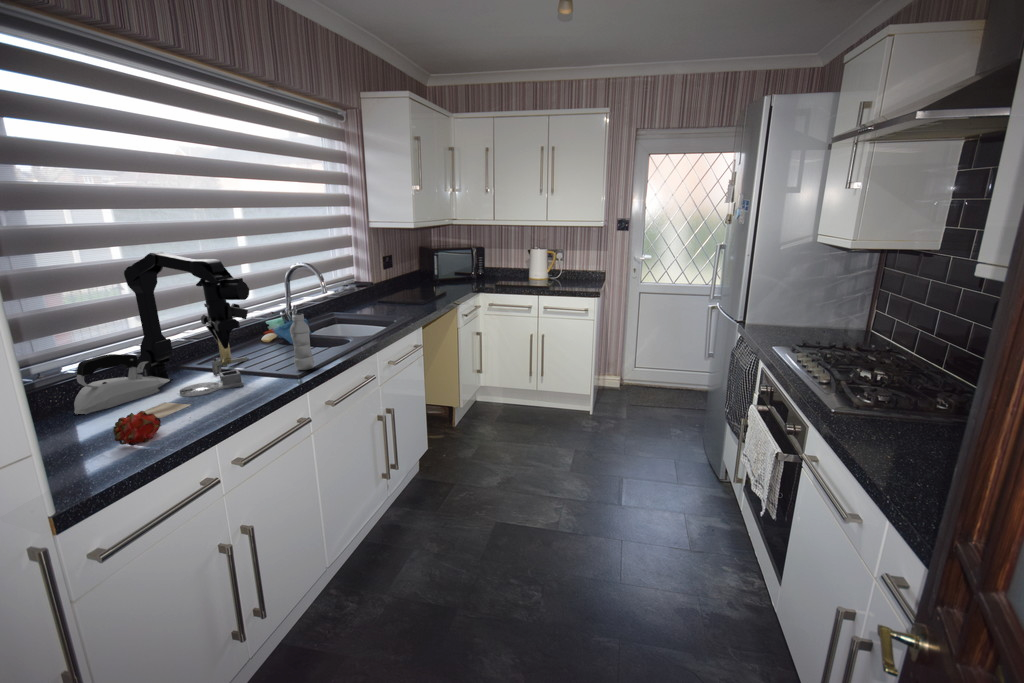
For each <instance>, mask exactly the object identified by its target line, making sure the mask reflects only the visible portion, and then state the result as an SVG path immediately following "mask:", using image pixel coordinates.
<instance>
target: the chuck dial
mask: <svg viewBox="0 0 1024 683" xmlns="http://www.w3.org/2000/svg"><path fill="white" fill-rule="evenodd" d="M218 375H219V379H220V381H216V382H214V381H208V382H199V383H194V384H191V385H187V386H185V387H183V388H181V389H180V390H179V396H181V397H189V398H192V397H200V396H204V395H208V394H211V393H214V392H216V391H218V390H223V389H224V390H225V389H227V388H228V389H229V388H230V389H233V388H238V387H243V386H244V382H243V380H242V375H241V372H240V370H239V369H232V370H228V371H221V373H219V374H218Z"/></svg>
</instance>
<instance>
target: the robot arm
mask: <svg viewBox="0 0 1024 683" xmlns="http://www.w3.org/2000/svg"><path fill="white" fill-rule="evenodd" d="M163 268H167V269H172V270H177V271H182V272H186V273H189V274H192V276H194V277H195V278H199V281H197V283H196V284H195V286H196V287H202V289H203V294H204V300H205V303H204V304H203V305H204V308H206V311H207V314H202V316H201V317H200V322H201V324H202V325H206V326H205V328H207V329H208V331H209V333H210V334H211V335H212V337H213V338H214V339H215V341H216V343H218V340H219V341H220V343H221V344H222V346H223V348H224V349H226V348H228V344H229V345H230V335H231V333H232V331H233V330H236V329H239V328H241V325H240V321H239V320H238V319H235V318H240V319H242V320H247V317H248V313H249V310H248V309H246V308H242V307H241V306H240V304H236V303H232V304H230V302H228V301H244V300H247V299H248V298H249V295H250V287H248V285H247V282H245V281H244V279H243V277H238V278H234V277H233V275H231V273H230V272H229V271H228V269H227V268H226V267H225V266H224V264H223V262H222V261H221V260H219V259H215V258H210V259H209V258H204V259H202V258H201V259H195V258H189V257H186V256H181V255H177V254H176V255H175V254H171V253H165V252H163V251H157V252H156V251H155V252H149V253H147V254H146V255H145V256H144V257H143V258H141V259H139V260H137V261H136V262H134V263H133V264H132V265H130V266H127V267H126V268H125V269H124V271H123V275H124V279H125V282H126V284H127V287H128V288H130V290H131V291H132V292H133V293H134V294H135V299H136V303H137V304H136V305H137V309H138V313H139V319H140V323H141V329H142V333H143V334H142V335H143V338H142V340H141V343H140V354H139V356H138V357H137V367H138V365H139V364H140V363H141V362H148V361H149V362H148V363H146V364H145V366H144V368H143V375H144V376H143V377H148V376H154V377H159V378H164V379H169V380H171V381H173V380H174V379H173V378H172V377H171V378H170V377H169V373H168V369H167V366H166V363H169V362H170V361H171V356H172V353H173V352H172V351H174V349H173V346H172V340H171V339H170V338H166V337H165V336H164V334H163V333H162V327H161V322H160V319H159V318H160V317H159V313H158V306H157V301H156V298H155V297H156V296H155V289H156V287H157V284H158V275H159V273H160V272H162V271H163ZM207 324H208V325H207ZM137 367H136V368H137Z"/></svg>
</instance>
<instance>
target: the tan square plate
mask: <svg viewBox="0 0 1024 683" xmlns="http://www.w3.org/2000/svg"><path fill="white" fill-rule="evenodd" d="M190 406H191V404H188V403H178V402H177V403H174V402H165V401H164V402H163V403H160V404H158V405H155V406H153V407H150V408H147V409H145V410H143V411H144V412H146V414H151V413H153V414H154V415H155V416H156V417H157V418H159V419H163V418H165V417H167V416H170V415H171V414H175V413H176V412H178V411H179V412H180V411H181V410H183V409H185V408H188V407H190ZM136 414H137V413H136ZM136 414H135V413H134V415H136Z"/></svg>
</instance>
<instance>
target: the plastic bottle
mask: <svg viewBox="0 0 1024 683" xmlns="http://www.w3.org/2000/svg"><path fill="white" fill-rule="evenodd" d="M304 315H305V314H303V313H295V314H292V316H291V317H292V319H291V320H292V321H293V322H292V323H291V325H290V326H289V334H290V337H291V341H292V345H293V350H294V352H293V353H294V361H293V362H294V363H293V364H294V367H295V368H296V370H298V371H308V370H311V369H314V367H315V359H314V356H313V352H312V348H311V341H310V340H311V339H310V333H311V332H310V330H311V329H310V327H309V325H308V323H306V322H305V317H304Z"/></svg>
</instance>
